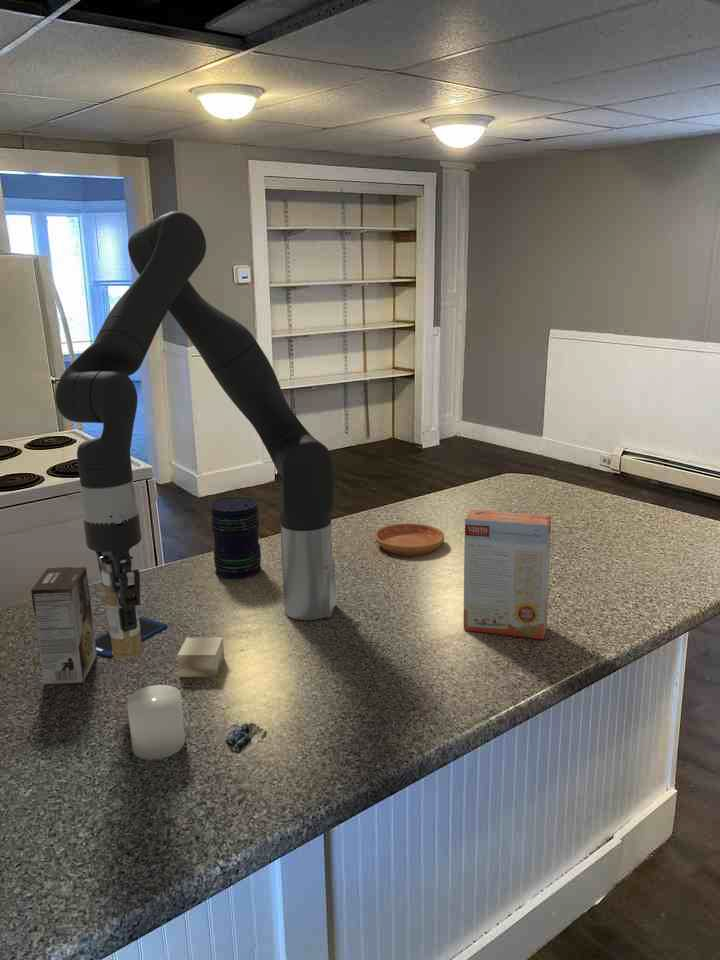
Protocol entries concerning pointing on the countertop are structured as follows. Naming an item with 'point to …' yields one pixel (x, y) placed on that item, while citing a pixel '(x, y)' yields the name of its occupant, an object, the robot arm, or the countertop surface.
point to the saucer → (409, 538)
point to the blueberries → (242, 735)
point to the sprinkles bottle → (121, 641)
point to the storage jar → (236, 538)
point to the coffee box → (64, 625)
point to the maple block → (201, 657)
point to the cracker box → (506, 573)
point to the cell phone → (146, 631)
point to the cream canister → (156, 722)
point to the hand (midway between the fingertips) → (124, 622)
